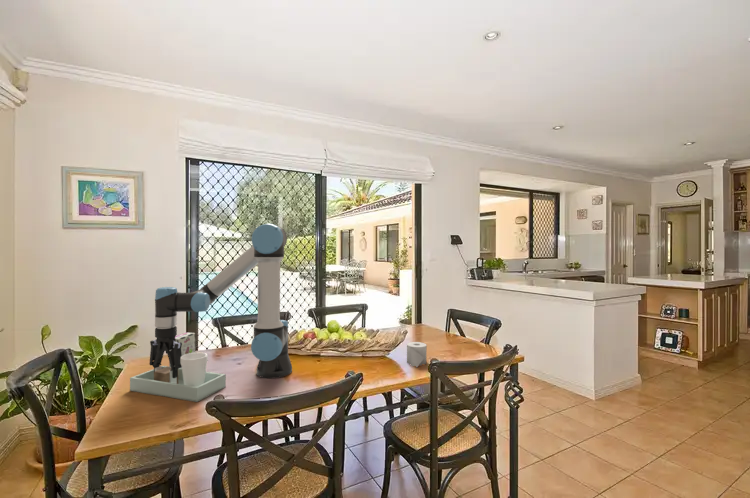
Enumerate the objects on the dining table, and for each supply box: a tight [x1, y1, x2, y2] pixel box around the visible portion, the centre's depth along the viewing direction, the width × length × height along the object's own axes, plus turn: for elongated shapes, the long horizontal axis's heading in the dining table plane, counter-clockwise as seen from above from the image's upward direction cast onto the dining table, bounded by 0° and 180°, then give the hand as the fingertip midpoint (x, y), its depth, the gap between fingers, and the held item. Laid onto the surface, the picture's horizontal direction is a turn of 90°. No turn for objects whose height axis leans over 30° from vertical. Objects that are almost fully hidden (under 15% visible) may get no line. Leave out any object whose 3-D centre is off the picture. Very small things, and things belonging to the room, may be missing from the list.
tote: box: [129, 365, 227, 403], centre depth 147 cm, size 32×15×5 cm, turn 72°
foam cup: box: [180, 351, 209, 387], centre depth 144 cm, size 10×9×13 cm
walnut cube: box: [154, 367, 178, 384], centre depth 148 cm, size 6×6×6 cm
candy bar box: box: [168, 332, 197, 368], centre depth 165 cm, size 11×5×16 cm, turn 168°
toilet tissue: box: [406, 341, 428, 368], centre depth 179 cm, size 9×13×9 cm
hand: (165, 384), depth 148 cm, fingers open, 7 cm apart
